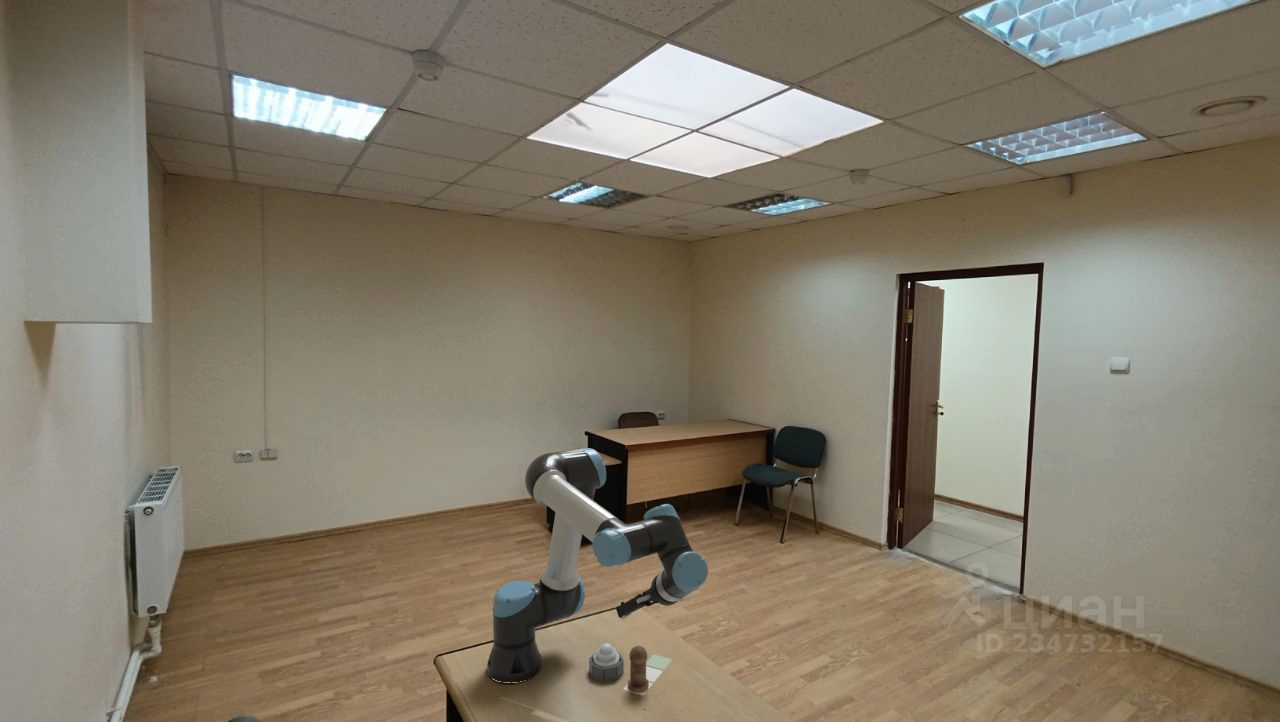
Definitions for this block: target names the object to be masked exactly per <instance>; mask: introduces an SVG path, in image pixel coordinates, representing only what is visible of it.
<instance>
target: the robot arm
mask: <svg viewBox="0 0 1280 722" xmlns="http://www.w3.org/2000/svg"><path fill="white" fill-rule="evenodd" d="M525 472H526V473H525V478H524V479H525V480H524V483H525V487H526V490H527V493H528V495H529V496H530V497H531V499H533V500H534V502H536V503H537V504H538V505H540V506H544V507H548V508H550V509H551V510H552V511H553V512H554V520H553V521H554V523H553V527H552V533H551V539H550V546H549V547H550V548H549V551H548V552H549V553H548V559H547V560H548V561H547V565H546V567H545V568H543V570H542V571H541V572H540V577H539V581H538V582H537V583H533V582H532V581H529V580H521V581H519V580H515V581H511V582H509V583H506V584H505V585H502V586H501V587H500V588H498V590H497V591H496V592H495V594H494V597H493V604H492V612H493V613H492V614H493V615H492V616H493V617H492V619H493V623H492V626H493V627H492V629H493V630H492V631H493V645H492V647H491V651H490V653H489V657H488V660H487V665H486V666H487V667H486V670H487V672H488V674H489V676H490V677H491V678H493V679H495V680H497V681H501V682H511V683H512V682H520V681H524V680H527V681H529V680H531V679H533V678H534V677H536V676H537V675H538V674H539V673H540V671H541V669H542V656H541V653H540V652H539V649H538V644H537V640H536V629H537V628H539V627H542V626H545V625H548V624H551V623H554V622H558V621H560V620H563V619H567V618H570V617H572V616H573V615H575V614H577V613H579V612H580V611H581V609H582V608H583V606H584V603H585V600H586V599H585V598H586V591H585V590H584V588H585V585H584V582H583V579H582V578H581V577H580V574H579V573H578V571H577V566H578V561H579V555H580V548H581V544H582V538H583V537H585V538H586V539H588V540H589V541H590V542H591V543H592V552H593V555H594V557H595V558H596V559H597V560H596V561H597V562H598V563H599V565H601V566H603V567H606V568H609V567H615V566H622V565H624V564H626V563H629V562H633V561H636V560H639V559H641V558H642V559H643V558H645V557H648V556H651V555H656V554H657V556H658V558H659V561H660V562H661V564H662V567H663V569H662V570H661V571H660V572H659V573H657V574H656V575H655V576H654V577H653V579H652V581H651V585H650V587H649V589H647V590H645V591H643V592H642V593H638V594H637V595H636V596H634V597H633V598H630V599H629V600H627V601H626V602H625V601H621V602H620V605H617V606H616V607H615V610H616V613H617V616H618V618H619V619H620V618H621V620H622V621H624V620H625V619H627V618H628V617H629V616H631V615H632V613H634V612H636V611H638V610H640V609H642V608H644V607H651V606H654V605H655V604H659V605H662V606H669V607H670V606H672V605H675V604H676V603H678V602H679V601H680V602H681V603H682V602H684V601H685V599H684V598H685V597H687V596H688V595H690V594H691V593H693V592H694V591H696V590H699V588H700V587H701V586H702V585H703V584H704V583H705V582H706V580H707V577H708V575H709V567H708V564H707V562H706V560H705V558H703V556H702V555H700V554H699V552H696V551H694V550H693V547H691V546H692V545H690V542H689V540H688V537H687V534H686V531H685V530H684V527H683V525H682V522H681V518H680V517H679V515H678V513H677V511H676V510H675V508H674V506H673V505H671V504H669V503H665V504H660V505H659V506H655V507H653V508H650V509H649V510H647V511H645V513H644V514H643V519H644V520H640V521H636V522H632V523H628V524H627V523H624V522H623V521H622V520H620V519H619V518H618V517H616V516H615V515H613V513H611V512H610V511H608V510H607V509H605V508H604V507H603V506H602V505H599V504H598V503H597V502H596V501H594V499H595V495H596V493H595V492H596V489H600V488H601V487H603V486H604V485H605V483H606V481H607V469H606V465H605V462H604V460H603V458H602V456H601V455H600V453H599V452H598V451H597V450H596V449H593V448H590V447H585V448H581V447H579V448H576V449H569V450H561V451H555V452H546V453H543V454H541V455H539V456H537V457H536V458H535V459H533V460H532V462H531V463H530V464H529V465H528V468H527V470H526V471H525ZM487 672H486V673H487ZM488 674H487V675H488ZM535 675H536V676H535ZM489 676H488V677H489ZM532 677H533V678H532ZM530 678H531V679H530ZM528 679H529V680H528ZM524 682H525V681H524Z"/></svg>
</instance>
